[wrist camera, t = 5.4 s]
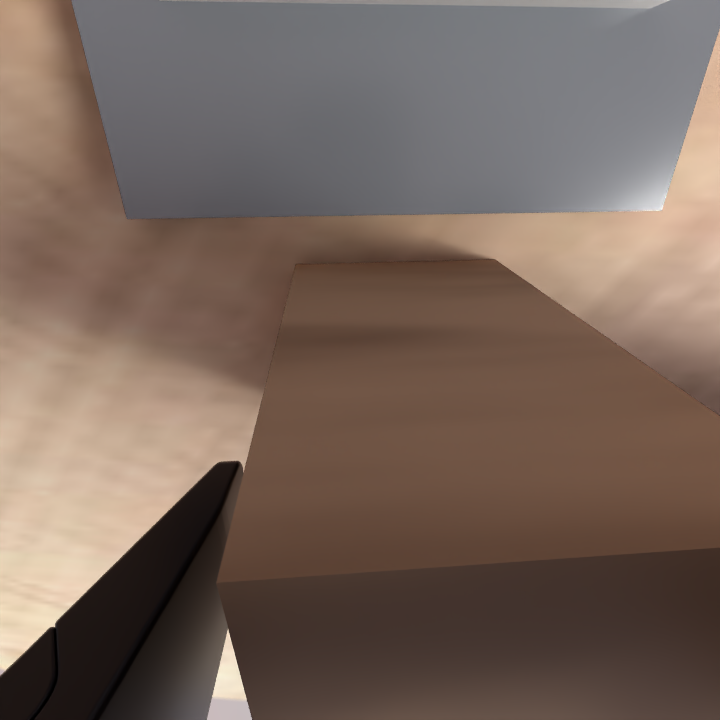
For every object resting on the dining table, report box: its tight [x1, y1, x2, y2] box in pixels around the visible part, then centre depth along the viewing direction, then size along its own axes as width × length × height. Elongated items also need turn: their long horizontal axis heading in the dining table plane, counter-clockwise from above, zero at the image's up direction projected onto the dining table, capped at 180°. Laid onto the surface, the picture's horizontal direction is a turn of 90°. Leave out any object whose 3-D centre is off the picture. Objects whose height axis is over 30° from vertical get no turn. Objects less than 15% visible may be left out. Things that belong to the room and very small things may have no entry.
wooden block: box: [216, 259, 720, 720], centre depth 9 cm, size 5×6×10 cm
